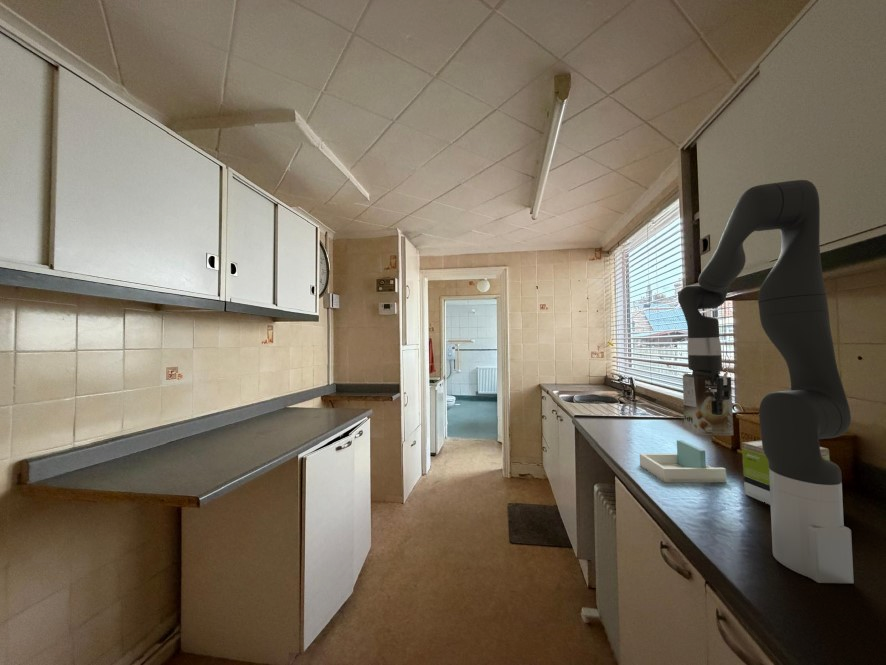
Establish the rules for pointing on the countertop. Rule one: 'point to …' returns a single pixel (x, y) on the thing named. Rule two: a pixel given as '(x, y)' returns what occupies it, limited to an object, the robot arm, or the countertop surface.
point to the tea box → (760, 470)
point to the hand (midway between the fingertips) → (707, 411)
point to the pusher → (690, 455)
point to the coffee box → (705, 408)
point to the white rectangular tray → (679, 469)
